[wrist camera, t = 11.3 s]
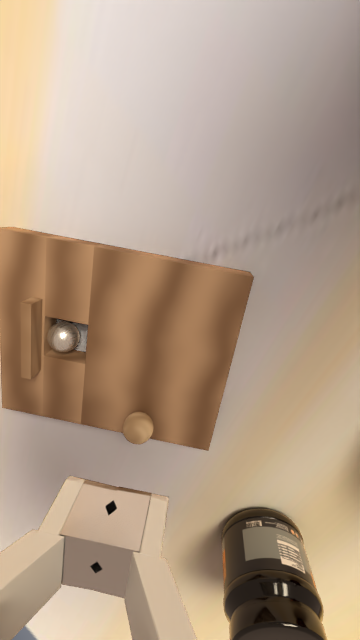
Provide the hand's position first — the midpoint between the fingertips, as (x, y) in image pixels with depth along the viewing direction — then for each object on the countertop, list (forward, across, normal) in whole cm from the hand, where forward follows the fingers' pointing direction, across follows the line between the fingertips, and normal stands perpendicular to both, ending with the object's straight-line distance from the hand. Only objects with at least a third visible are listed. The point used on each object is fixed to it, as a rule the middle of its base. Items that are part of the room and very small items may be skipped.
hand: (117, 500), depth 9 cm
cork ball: (+19, +2, +14) cm, 23 cm away
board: (+23, +6, +6) cm, 25 cm away
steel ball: (+22, +12, +6) cm, 25 cm away
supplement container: (+23, -16, +30) cm, 41 cm away
